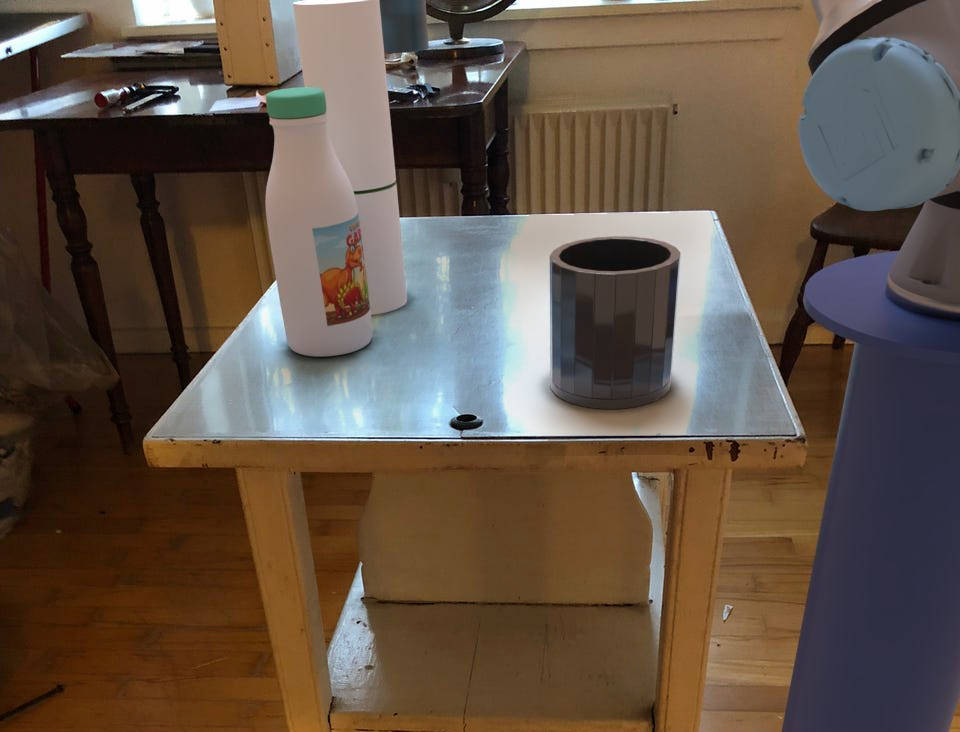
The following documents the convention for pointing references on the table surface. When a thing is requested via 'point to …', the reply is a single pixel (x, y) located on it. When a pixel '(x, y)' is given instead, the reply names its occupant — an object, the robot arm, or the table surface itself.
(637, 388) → the slatted pencil holder
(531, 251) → the table surface
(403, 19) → the long cylindrical rod
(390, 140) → the cylindrical container
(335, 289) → the milk bottle
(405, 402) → the table surface
